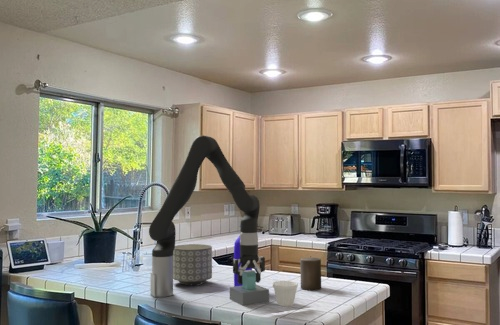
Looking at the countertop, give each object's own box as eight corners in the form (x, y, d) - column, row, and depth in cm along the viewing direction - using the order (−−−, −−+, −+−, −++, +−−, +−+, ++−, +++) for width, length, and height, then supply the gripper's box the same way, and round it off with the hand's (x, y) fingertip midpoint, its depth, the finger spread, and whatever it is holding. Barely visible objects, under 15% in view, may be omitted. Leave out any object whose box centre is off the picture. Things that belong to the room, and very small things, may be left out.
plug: (247, 302, 193) (247, 272, 194) (242, 300, 197) (242, 270, 197) (255, 301, 195) (255, 271, 196) (251, 298, 199) (251, 269, 199)
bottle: (234, 289, 220) (234, 224, 221) (252, 289, 220) (252, 224, 221) (233, 293, 212) (233, 226, 213) (252, 293, 212) (251, 226, 213)
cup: (269, 308, 187) (269, 284, 187) (277, 302, 196) (277, 280, 197) (294, 311, 184) (293, 286, 184) (300, 304, 193) (300, 281, 193)
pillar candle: (324, 290, 218) (323, 257, 219) (303, 291, 217) (303, 257, 218) (317, 285, 228) (317, 254, 229) (297, 286, 226) (297, 254, 227)
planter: (191, 278, 246) (191, 243, 247) (219, 282, 235) (219, 245, 236) (164, 284, 231) (164, 247, 232) (193, 289, 220) (194, 250, 221)
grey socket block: (242, 308, 188) (242, 292, 188) (229, 301, 198) (229, 287, 199) (269, 304, 193) (269, 289, 194) (254, 298, 204) (254, 284, 204)
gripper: (237, 245, 190) (237, 286, 190) (268, 243, 197) (268, 283, 196) (229, 243, 197) (229, 283, 196) (259, 241, 204) (259, 279, 203)
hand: (249, 283), depth 196 cm, fingers open, 7 cm apart
